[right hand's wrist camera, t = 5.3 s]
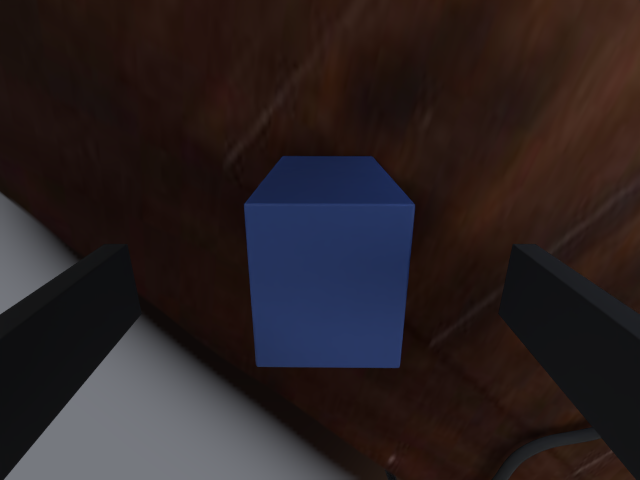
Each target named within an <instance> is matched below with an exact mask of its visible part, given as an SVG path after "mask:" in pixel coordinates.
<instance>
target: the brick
mask: <svg viewBox="0 0 640 480" xmlns="http://www.w3.org/2000/svg"><path fill="white" fill-rule="evenodd" d="M244 211H245V225H246V238H247V251H248V264H249V277H250V290H251V304H252V317H253V330H254V343H255V356H256V365H257V366H258V367H352V368H399V367H400V360H401V349H402V339H403V328H404V318H405V307H406V297H407V286H408V276H409V265H410V255H411V244H412V234H413V223H414V213H415V204H414V203H413V202H412V201H411V200H410V198H409V197H408V196H407V195H406V194H405V193H404V192H403V191H402V189H401V188H400V187H399V186H398V185H397V184H396V183H395V182H394V180H393V179H392V178H391V177H390V176H389V175H388V174H387V173H386V171H385V170H384V169H383V168H382V167H381V166H380V165H379V164H378V162H377V161H376V160H375V159H374V158H373V157H372V156H283V157H282V158H281V159H280V160H279V161H278V163H277V164H276V165H275V166H274V168H273V169H272V170H271V171H270V173H269V174H268V175H267V176H266V178H265V179H264V180H263V181H262V183H261V184H260V185H259V186H258V188H257V189H256V190H255V191H254V193H253V194H252V195H251V196H250V198H249V199H248V200H247V201H246V203H245V204H244Z"/></svg>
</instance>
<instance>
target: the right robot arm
mask: <svg viewBox="0 0 640 480" xmlns="http://www.w3.org/2000/svg"><path fill="white" fill-rule="evenodd" d="M498 314H499V315H500V316H501V317H502V319H503V320H504V321H505V322H506V323H507V325H508V326H509V327H510V328H511V329H512V331H513V332H514V333H515V334H516V335H517V337H518V338H519V339H520V340H521V342H522V343H523V344H524V345H525V346H526V348H527V349H528V350H529V351H530V352H531V354H532V355H533V356H534V357H535V358H536V360H537V361H538V362H539V363H540V364H541V366H542V367H543V368H544V369H545V370H546V372H547V373H548V374H549V375H550V376H551V378H552V379H553V380H554V381H555V382H556V384H557V385H558V386H559V387H560V388H561V390H562V391H563V392H564V393H565V394H566V396H567V397H568V398H569V399H570V400H571V402H572V403H573V404H574V405H575V406H576V408H577V409H578V410H579V411H580V413H581V414H582V415H583V416H584V417H585V419H586V420H587V421H588V422H589V423H590V425H591V426H592V427H590V428H586V429H581V430H576V431H570V432H564V433H559V434H554V435H549V436H545V437H542V438H539V439H536V440H534V441H532V442H529V443H527V444H525V445H524V446H522V447H520V448H519V449H517V450H516V451H515V452H513V453H512V454H511V455H510V456H509V457H508V458H507V459H506V461H505V462H504V463H503V464H502V466H501V467H500V469H499V470H498V472H497V473H496V475H495V476H494V477H493V479H492V480H508V479H509V477H510V476H511V475H512V473H513V472H514V471H515V469H516V468H517V467H518V466H519V465H520V464H521V463H522V462H523V461H525V460H526V459H528V458H529V457H531V456H533V455H535V454H537V453H539V452H541V451H544V450H547V449H550V448H554V447H558V446H563V445H569V444H575V443H581V442H586V441H591V440H596V439H600V438H602V439H603V440H604V441H605V443H606V444H607V445H608V446H609V447H610V449H611V450H612V451H613V452H614V453H615V455H616V456H617V457H618V458H619V459H620V461H621V462H622V463H623V464H624V465H625V467H626V468H627V469H628V470H629V471H630V473H631V474H632V475H633V476H634V477H635V479H636V480H640V314H638V313H637V312H635V311H634V310H632V309H631V308H629V307H628V306H626V305H625V304H623V303H622V302H620V301H619V300H617V299H616V298H614V297H613V296H611V295H610V294H609V293H607V292H606V291H604V290H603V289H601V288H600V287H598V286H597V285H595V284H594V283H592V282H591V281H589V280H588V279H586V278H585V277H583V276H582V275H580V274H579V273H577V272H576V271H574V270H573V269H571V268H570V267H568V266H567V265H565V264H564V263H563V262H561V261H560V260H558V259H557V258H555V257H554V256H552V255H551V254H549V253H548V252H546V251H545V250H543V249H542V248H540V247H539V246H537V245H536V244H513V246H512V251H511V256H510V260H509V265H508V270H507V275H506V280H505V285H504V289H503V294H502V299H501V304H500V309H499V313H498ZM140 315H141V309H140V304H139V299H138V294H137V289H136V285H135V280H134V275H133V270H132V265H131V260H130V256H129V251H128V246H127V244H104V245H103V246H101V247H100V248H98V249H97V250H95V251H94V252H92V253H91V254H89V255H88V256H86V257H85V258H83V259H82V260H80V261H79V262H78V263H76V264H75V265H73V266H72V267H70V268H69V269H67V270H66V271H64V272H63V273H61V274H60V275H58V276H57V277H55V278H54V279H52V280H51V281H49V282H48V283H46V284H45V285H43V286H42V287H40V288H39V289H37V290H36V291H35V292H33V293H32V294H30V295H29V296H27V297H26V298H24V299H23V300H21V301H20V302H18V303H17V304H15V305H14V306H12V307H11V308H9V309H8V310H6V311H5V312H3V313H2V314H0V480H4V479H5V477H6V476H7V475H8V474H9V473H10V471H11V470H12V469H13V468H14V467H15V465H16V464H17V463H18V462H19V461H20V459H21V458H22V457H23V456H24V455H25V453H26V452H27V451H28V450H29V449H30V447H31V446H32V445H33V444H34V443H35V441H36V440H37V439H38V438H39V437H40V435H41V434H42V433H43V432H44V431H45V429H46V428H47V427H48V426H49V425H50V423H51V422H52V421H53V420H54V419H55V417H56V416H57V415H58V414H59V413H60V411H61V410H62V409H63V408H64V406H65V405H66V404H67V403H68V402H69V400H70V399H71V398H72V397H73V396H74V394H75V393H76V392H77V391H78V390H79V388H80V387H81V386H82V385H83V384H84V382H85V381H86V380H87V379H88V378H89V376H90V375H91V374H92V373H93V372H94V370H95V369H96V368H97V367H98V366H99V364H100V363H101V362H102V361H103V360H104V358H105V357H106V356H107V355H108V354H109V352H110V351H111V350H112V349H113V348H114V346H115V345H116V344H117V343H118V342H119V340H120V339H121V338H122V337H123V335H124V334H125V333H126V332H127V331H128V329H129V328H130V327H131V326H132V325H133V323H134V322H135V321H136V320H137V319H138V317H139V316H140ZM385 472H386V475H387V478H388V480H397V479H396V476H395V475H393V474H392V473H390V472H389V471H387V470H386V469H385Z"/></svg>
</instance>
